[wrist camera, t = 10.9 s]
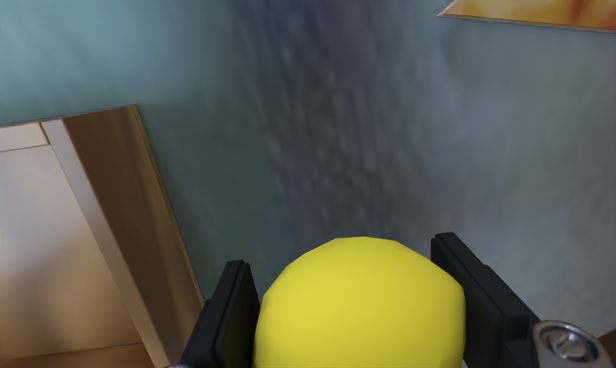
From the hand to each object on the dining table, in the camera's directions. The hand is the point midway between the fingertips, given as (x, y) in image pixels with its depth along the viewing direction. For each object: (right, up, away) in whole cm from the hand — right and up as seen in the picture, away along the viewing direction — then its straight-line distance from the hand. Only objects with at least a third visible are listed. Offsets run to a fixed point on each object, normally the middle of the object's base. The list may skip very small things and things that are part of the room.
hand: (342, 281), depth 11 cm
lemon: (0, 0, +1) cm, 1 cm away
